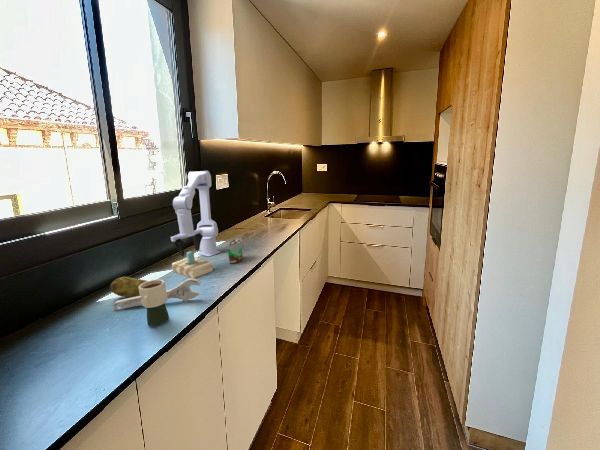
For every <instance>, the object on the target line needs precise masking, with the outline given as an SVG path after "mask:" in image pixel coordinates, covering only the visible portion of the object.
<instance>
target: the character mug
mask: <svg viewBox="0 0 600 450" xmlns="http://www.w3.org/2000/svg"><path fill="white" fill-rule="evenodd" d="M146 281H147V282H144V283H142V284H141V285H139V294H140V296H141V298H142V302H141V303H142V306H143V307H144V308H146V323H147V324H146V325H148V326H149V327H153V326H159V325H162V324H164V323H167V322H168V321H169V320H170V316H169V315H170V314H169V313H168V312H169V311H168V309H167V307H166V304H165V303H167V301H168V299H167V293H166V290H167V289H166V288H167V287H166V282H165V281H164V279H151V280H146Z"/></svg>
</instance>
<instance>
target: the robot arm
mask: <svg viewBox="0 0 600 450" xmlns="http://www.w3.org/2000/svg"><path fill="white" fill-rule="evenodd" d="M211 187H212V175H211V173H210V171H209V170H203V171H202V170H200V171H196V170H195V171H189V172H188V174H187V185H184V186H183V187H182V189H181V191H180V192H179V193H178V196H175V197H174V198H173V200H172V207H173V210H174V211H175V214H176V217H177V223H178V229H179V233H178V234H175V235H173V236H170V241H171V242H172V243H173V245H174V246H175V247H176V249H177V251H178V253H179V255H180V256H182V257H184V256H185V249H184V248H185V247H184V243H185V242H184V240H183V239H187V238H192V240H193V244H194V249H195V251H196V252H197V251H198V255H201V256H205V257H212V256H214V255H217V254H220V253H221V251H220V250H218V248H217V240H216V239H217V238H216V237H218V235H219V228H218V224H217V222H216V221H215V220H213V219H212V214H211V203H210V201H211V200H210V188H211ZM196 189H197V190H198V192H199V193H198V194H199V195H198V196H199V205H200V206H199V207H200V221H199V222H198V223H197V225H196V229H195V230H194V224H193V218H192V217H193V216H192V212H191V211H192V210H191V209H192V207H193V198H194V196H195V194H196Z"/></svg>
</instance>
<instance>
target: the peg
mask: <svg viewBox="0 0 600 450" xmlns="http://www.w3.org/2000/svg"><path fill="white" fill-rule="evenodd" d="M186 257H187V260H188V265H192V264H195V258H196V257H195V253H194V251H187V252H186Z"/></svg>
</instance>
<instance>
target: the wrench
mask: <svg viewBox="0 0 600 450" xmlns="http://www.w3.org/2000/svg"><path fill="white" fill-rule="evenodd" d="M191 286H201V281H200V280H199V279H198V278H190V277H188V278H187V279H185V280H184V281H183V282H181V283H179V284H177V285H176V286H175V287H173V288H171V289H166V293H167V300H168V299H179V300H182V302H186V303H188V301H189V300H192V299H194V298H196V297H198V296H199V295H200V292H199V291H197V290H196V291H195V290H194V291H193V290H192V289H191V288H190V287H191ZM141 302H142V298H141V296H137V297H132V298H129V297H126V298H124V299H118V300H116V301H115V302H114V303H113V305H112V308H113V309H114V310H115V311H117V310H118V311H119V310H120V311H121V310H125V309H129V308H133V307H138V306H141V305H142V303H141ZM117 304H120V306H118V305H117ZM142 306H143V305H142Z"/></svg>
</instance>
